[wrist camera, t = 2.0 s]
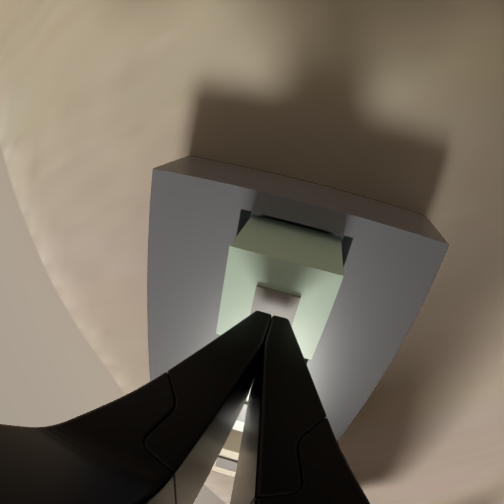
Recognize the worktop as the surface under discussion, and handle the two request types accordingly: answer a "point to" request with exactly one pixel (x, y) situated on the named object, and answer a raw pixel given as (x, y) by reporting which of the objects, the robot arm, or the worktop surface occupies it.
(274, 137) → the worktop surface
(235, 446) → the key
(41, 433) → the robot arm
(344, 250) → the gray key socket board
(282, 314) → the key
